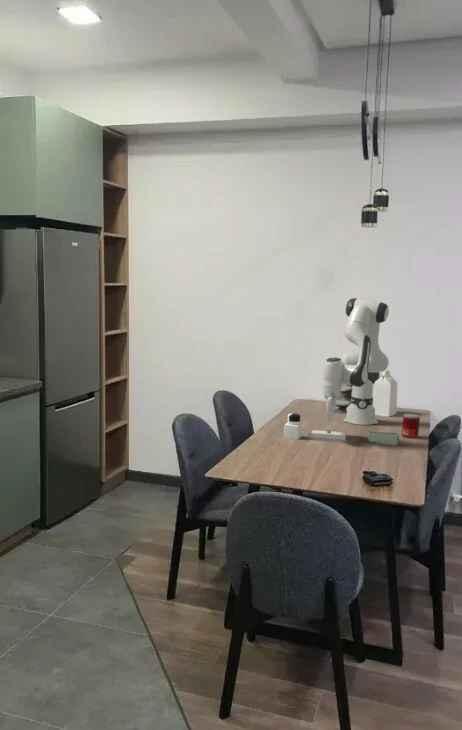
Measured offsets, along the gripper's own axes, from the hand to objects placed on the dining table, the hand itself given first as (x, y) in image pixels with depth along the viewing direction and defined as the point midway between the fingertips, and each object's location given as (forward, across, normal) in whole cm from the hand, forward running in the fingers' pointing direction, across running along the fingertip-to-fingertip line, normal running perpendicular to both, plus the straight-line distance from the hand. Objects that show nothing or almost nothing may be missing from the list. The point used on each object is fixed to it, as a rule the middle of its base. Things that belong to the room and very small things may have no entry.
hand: (330, 420), depth 307 cm
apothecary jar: (+8, +74, -9) cm, 75 cm away
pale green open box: (+10, 0, -26) cm, 28 cm away
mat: (+10, +1, 0) cm, 10 cm away
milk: (+9, +74, -33) cm, 82 cm away
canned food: (+10, +18, -41) cm, 46 cm away
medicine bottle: (+10, -2, +17) cm, 20 cm away
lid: (+9, +1, 0) cm, 9 cm away
